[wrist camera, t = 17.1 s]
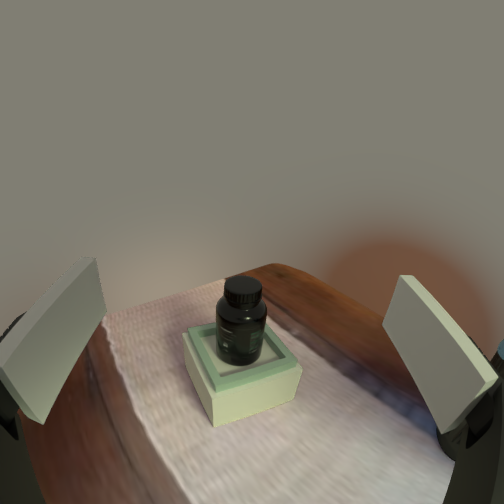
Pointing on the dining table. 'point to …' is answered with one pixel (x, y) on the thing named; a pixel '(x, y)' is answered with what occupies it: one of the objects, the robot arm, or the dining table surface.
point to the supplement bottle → (240, 321)
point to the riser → (239, 376)
